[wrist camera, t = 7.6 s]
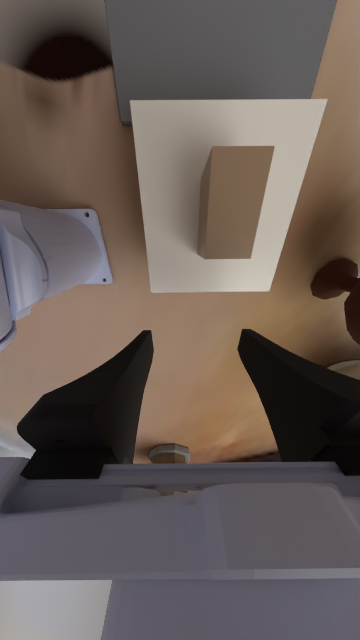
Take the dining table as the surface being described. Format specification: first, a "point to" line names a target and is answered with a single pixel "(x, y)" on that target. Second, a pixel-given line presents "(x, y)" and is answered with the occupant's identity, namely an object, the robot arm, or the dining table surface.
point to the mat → (216, 49)
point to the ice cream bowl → (341, 290)
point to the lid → (220, 187)
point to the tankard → (170, 459)
